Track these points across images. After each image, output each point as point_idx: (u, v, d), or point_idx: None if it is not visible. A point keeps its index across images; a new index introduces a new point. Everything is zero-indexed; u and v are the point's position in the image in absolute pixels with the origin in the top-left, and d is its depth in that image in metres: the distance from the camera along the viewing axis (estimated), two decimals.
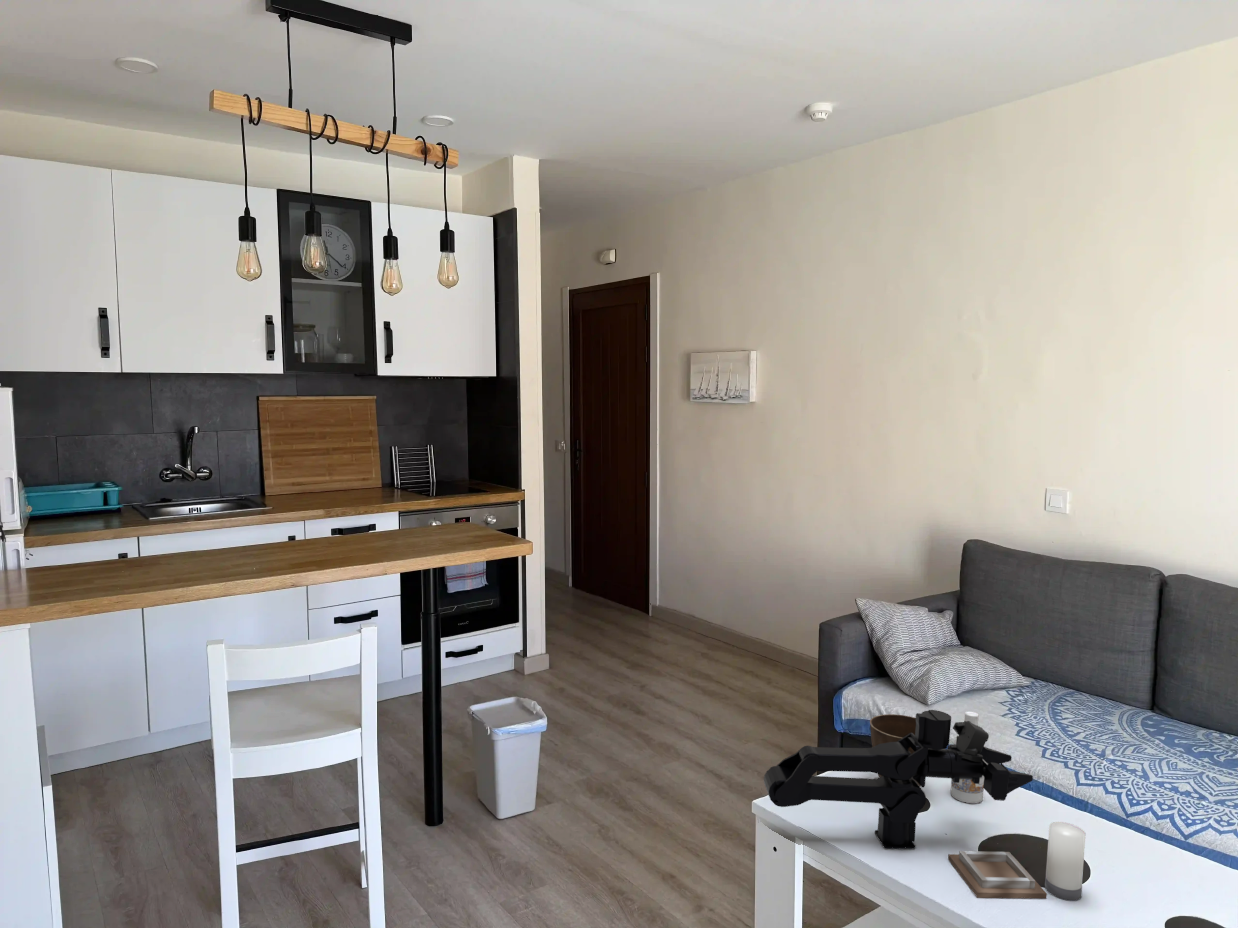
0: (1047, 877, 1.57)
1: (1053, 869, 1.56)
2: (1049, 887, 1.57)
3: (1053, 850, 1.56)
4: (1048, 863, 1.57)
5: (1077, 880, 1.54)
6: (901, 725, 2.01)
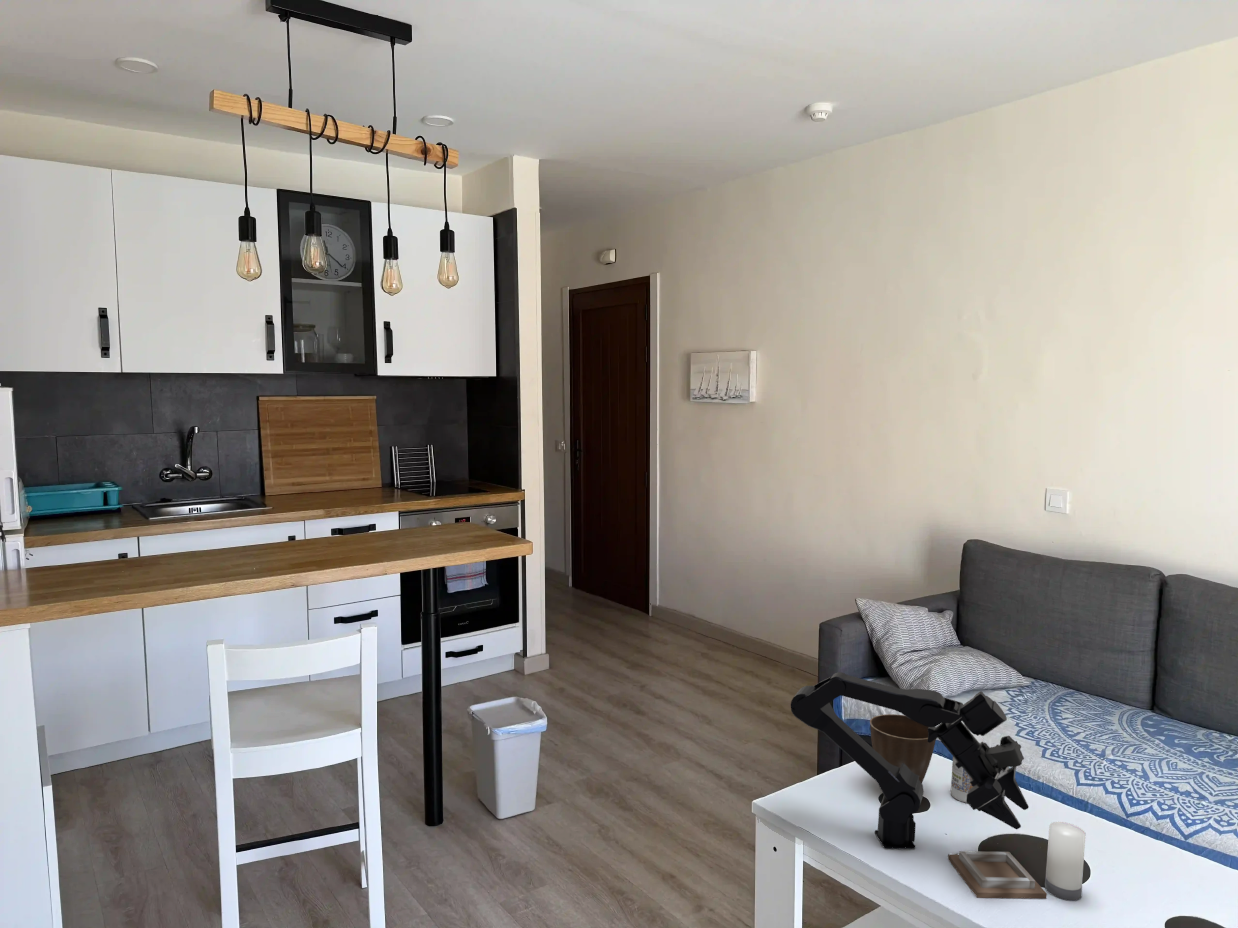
0: (1047, 877, 1.57)
1: (1053, 869, 1.56)
2: (1049, 887, 1.57)
3: (1053, 850, 1.56)
4: (1048, 863, 1.57)
5: (1077, 880, 1.54)
6: (901, 725, 2.01)
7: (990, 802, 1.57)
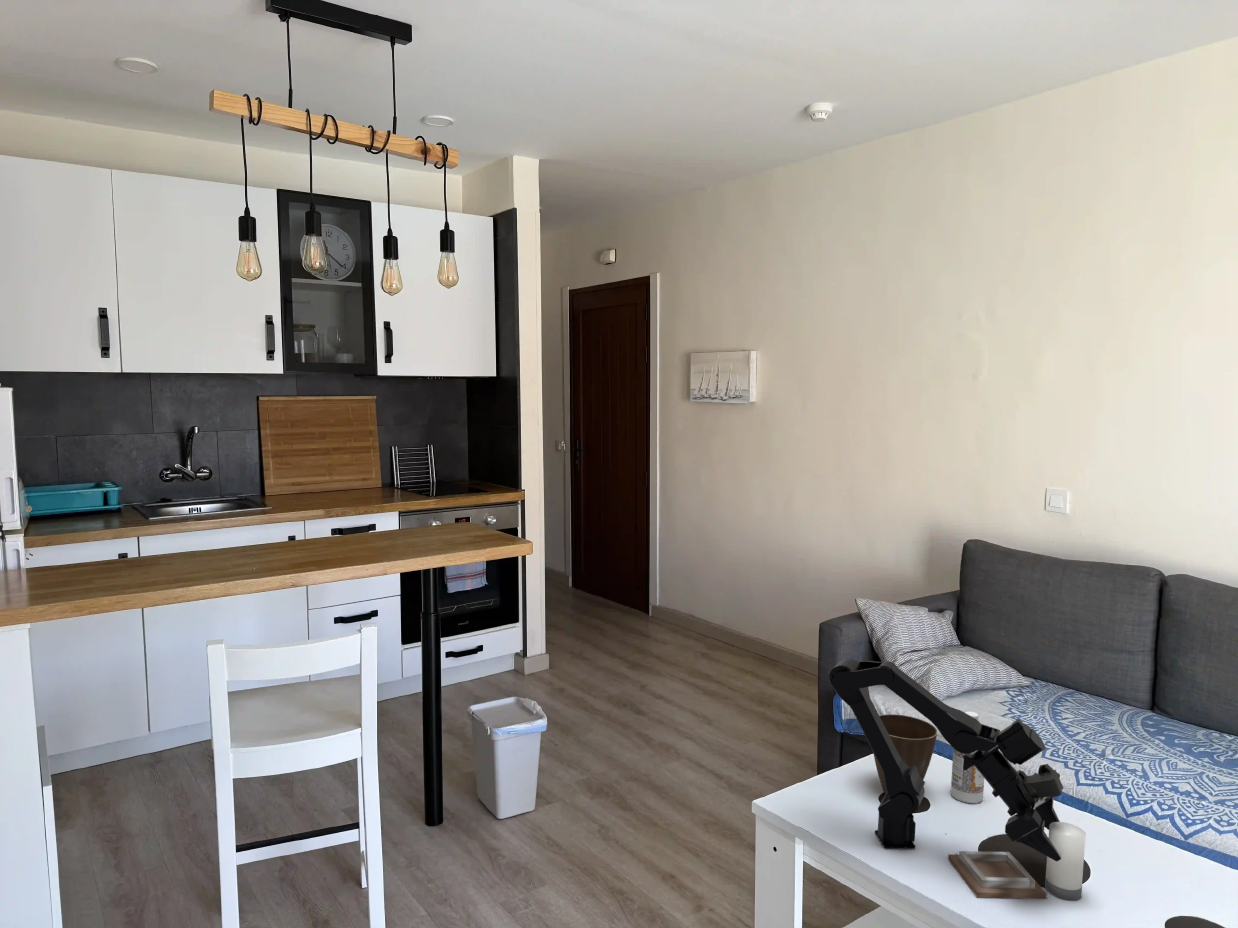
0: (1047, 877, 1.57)
1: (1053, 869, 1.56)
2: (1049, 887, 1.57)
3: None
4: (1048, 863, 1.57)
5: (1077, 880, 1.54)
6: (901, 725, 2.01)
7: (1029, 833, 1.53)
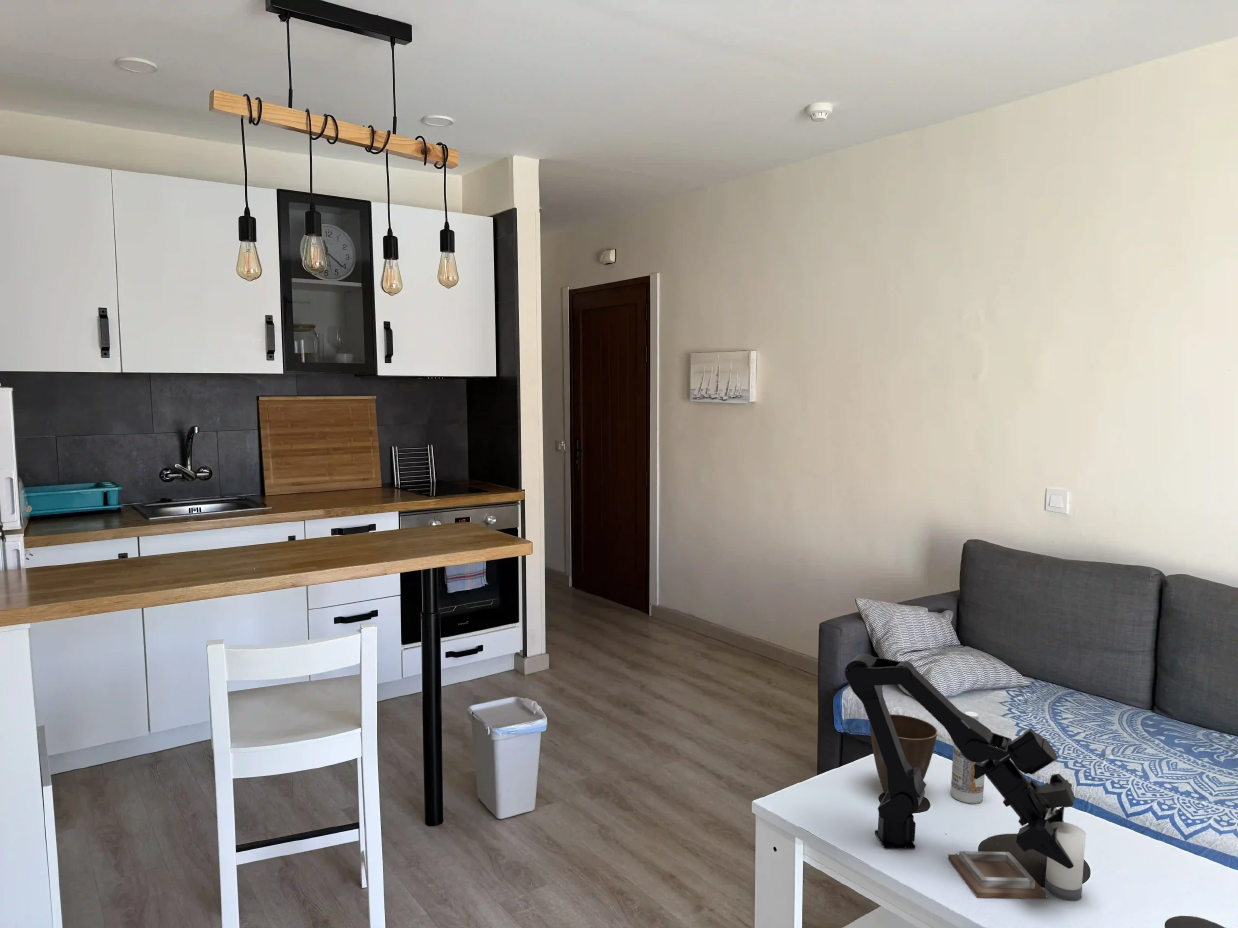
0: (1047, 877, 1.57)
1: (1053, 869, 1.56)
2: (1049, 886, 1.57)
3: None
4: (1048, 863, 1.57)
5: (1077, 880, 1.54)
6: (901, 725, 2.01)
7: None
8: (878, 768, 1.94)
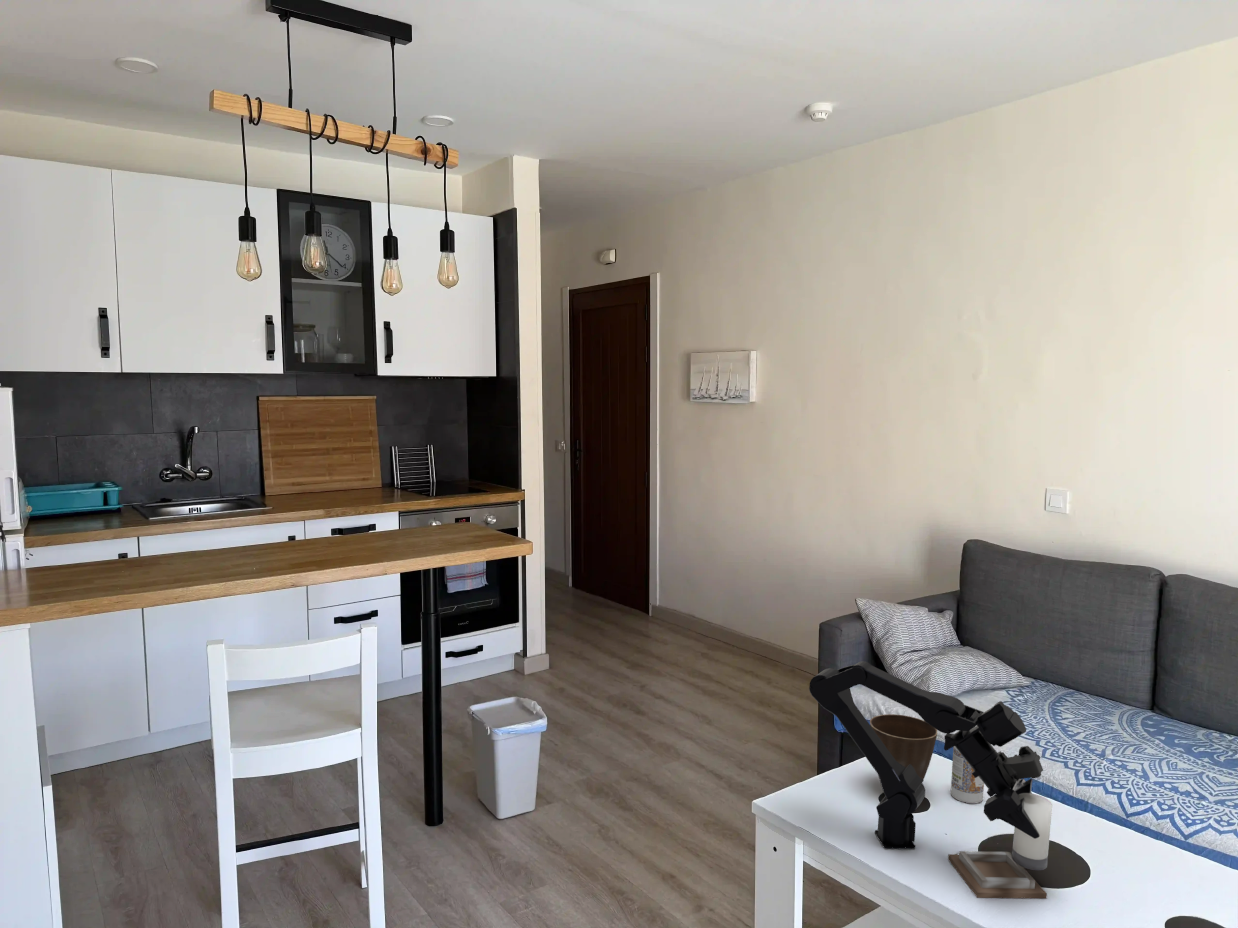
0: (1014, 847, 1.59)
1: (1019, 839, 1.58)
2: (1016, 856, 1.58)
3: None
4: (1015, 833, 1.59)
5: (1043, 850, 1.56)
6: (901, 725, 2.01)
7: (1009, 811, 1.54)
8: None
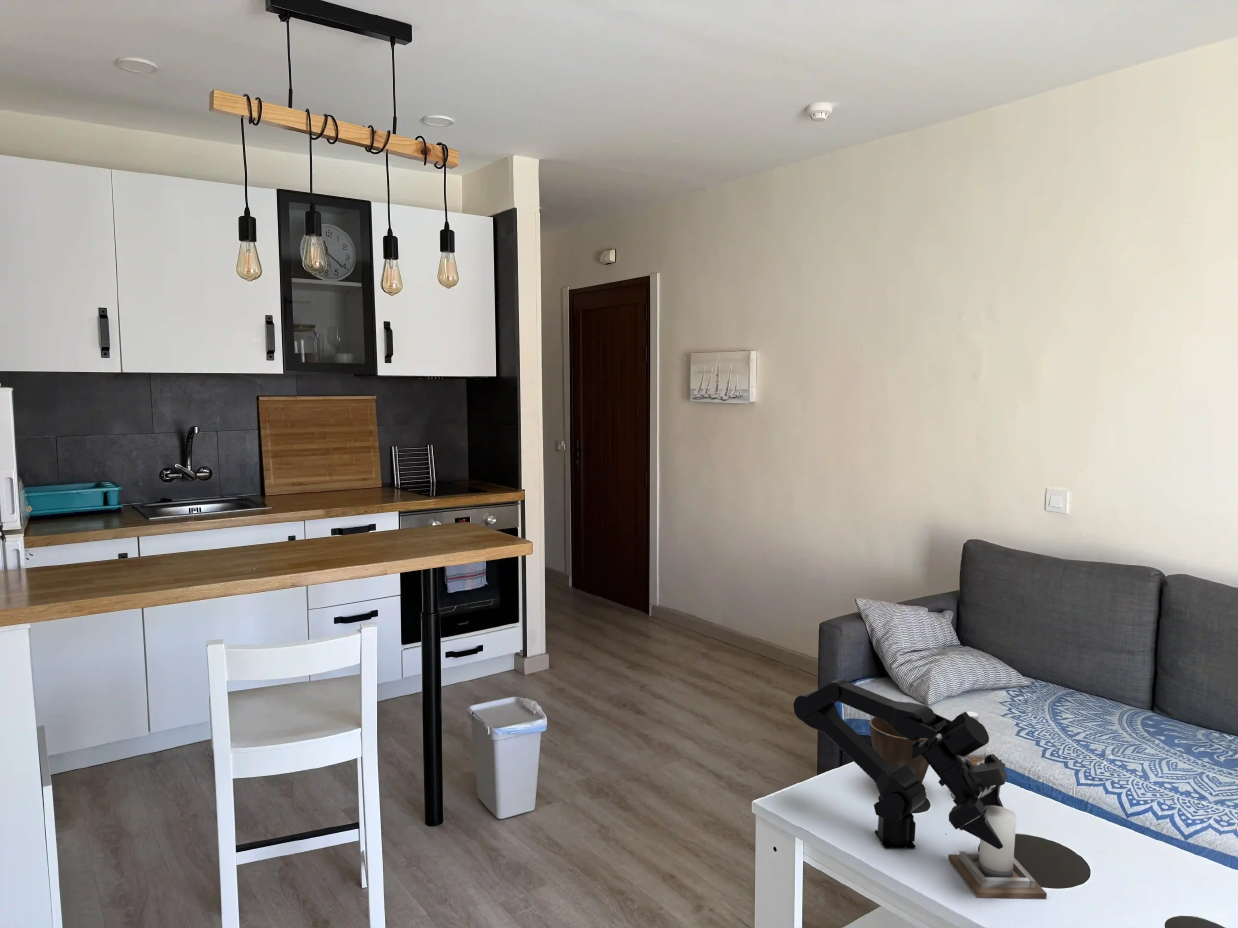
0: (980, 859, 1.61)
1: (985, 852, 1.60)
2: (981, 868, 1.60)
3: None
4: (981, 845, 1.61)
5: (1008, 862, 1.58)
6: None
7: (972, 821, 1.55)
8: None
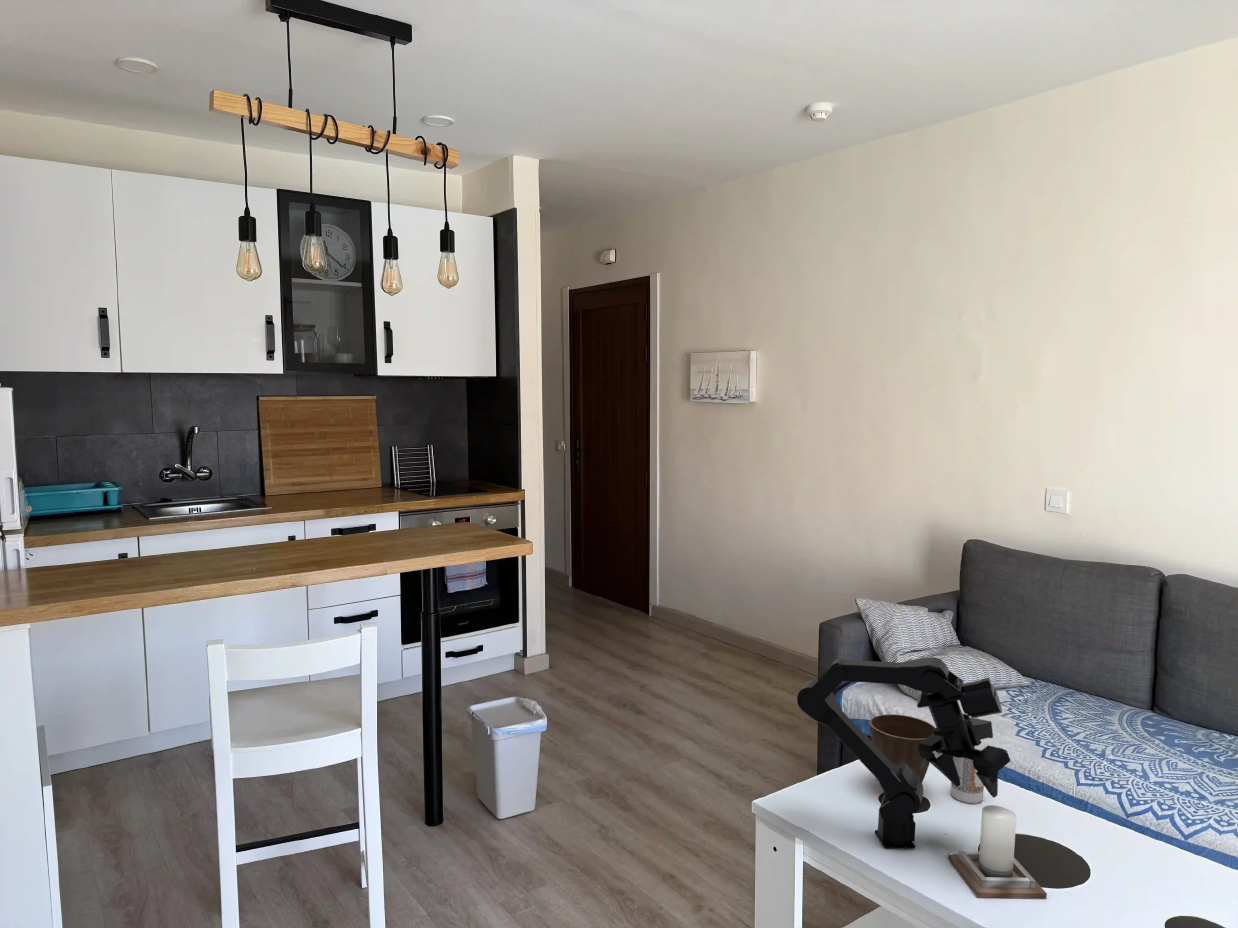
0: (980, 859, 1.61)
1: (985, 852, 1.60)
2: (981, 868, 1.60)
3: (985, 832, 1.60)
4: (981, 845, 1.61)
5: (1008, 862, 1.58)
6: (901, 725, 2.01)
7: None
8: None
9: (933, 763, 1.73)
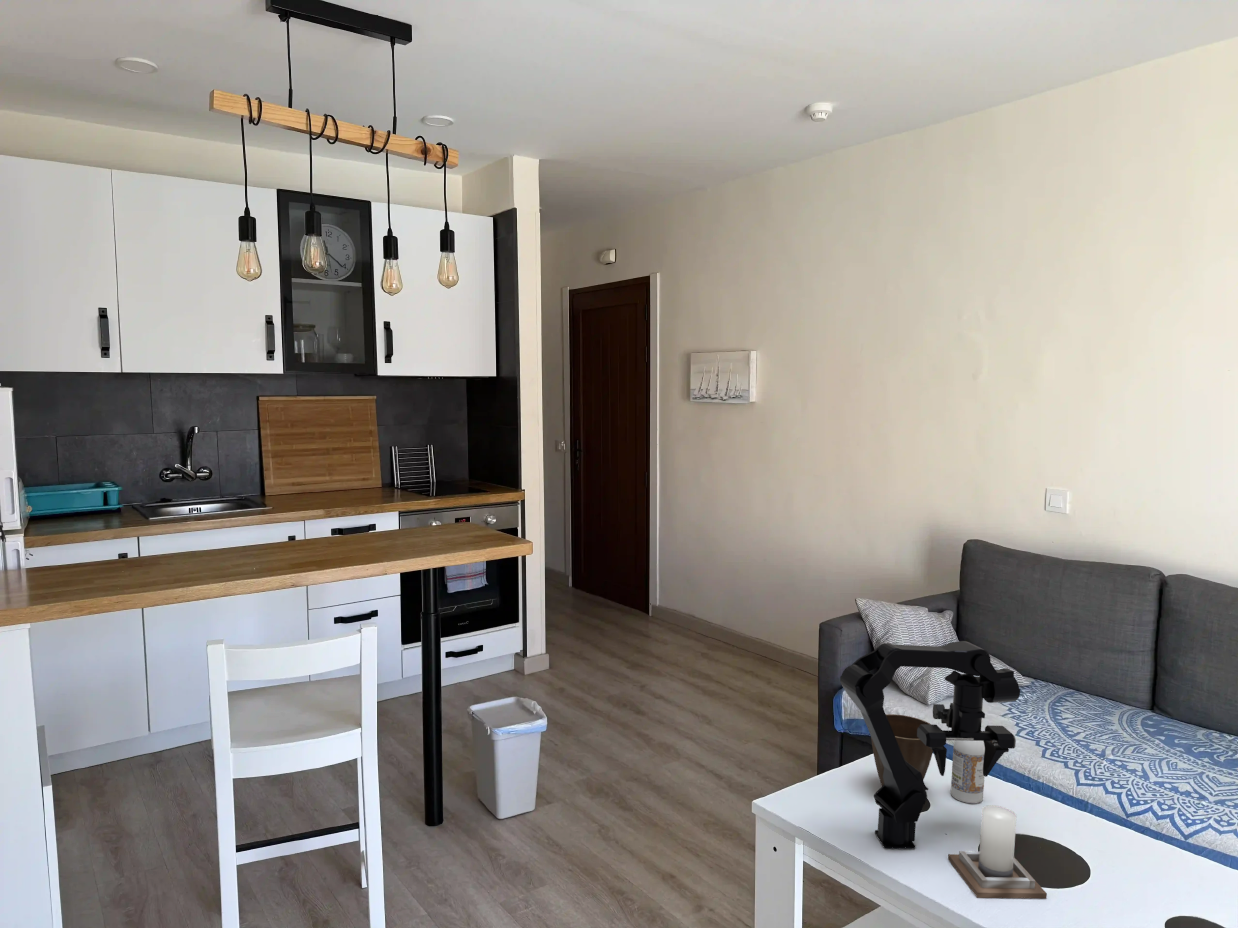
0: (980, 859, 1.61)
1: (985, 852, 1.60)
2: (981, 868, 1.60)
3: (985, 832, 1.60)
4: (981, 845, 1.61)
5: (1008, 862, 1.58)
6: (901, 725, 2.01)
7: None
8: (878, 768, 1.94)
9: (942, 751, 1.73)
